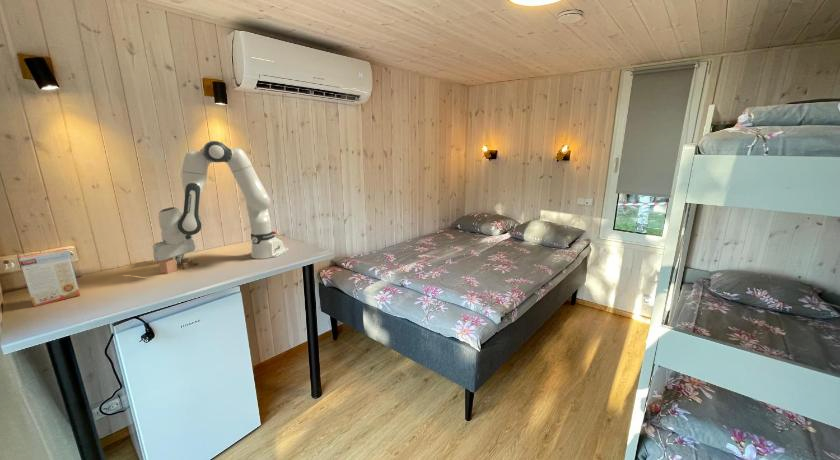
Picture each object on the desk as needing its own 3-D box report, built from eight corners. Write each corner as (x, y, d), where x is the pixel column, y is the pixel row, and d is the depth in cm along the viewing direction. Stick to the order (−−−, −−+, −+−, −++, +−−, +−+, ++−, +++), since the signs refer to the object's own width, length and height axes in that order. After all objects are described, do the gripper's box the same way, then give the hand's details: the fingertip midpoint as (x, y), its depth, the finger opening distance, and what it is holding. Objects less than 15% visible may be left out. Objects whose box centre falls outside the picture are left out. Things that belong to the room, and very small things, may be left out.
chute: (187, 263, 192) (186, 257, 191) (200, 264, 189) (199, 258, 188) (161, 272, 178) (159, 266, 177) (173, 274, 175) (172, 267, 174)
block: (170, 269, 180) (168, 258, 179) (177, 270, 179) (175, 259, 178) (160, 272, 176) (158, 261, 174) (168, 273, 174) (165, 262, 173)
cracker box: (78, 292, 154) (66, 247, 149) (80, 295, 150) (68, 250, 145) (32, 303, 143) (18, 255, 138) (33, 307, 139) (18, 258, 135)
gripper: (157, 244, 168) (162, 270, 171) (194, 234, 187) (198, 258, 190) (147, 243, 170) (153, 269, 173) (186, 233, 189) (190, 257, 192)
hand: (177, 263), depth 181 cm, fingers closed
